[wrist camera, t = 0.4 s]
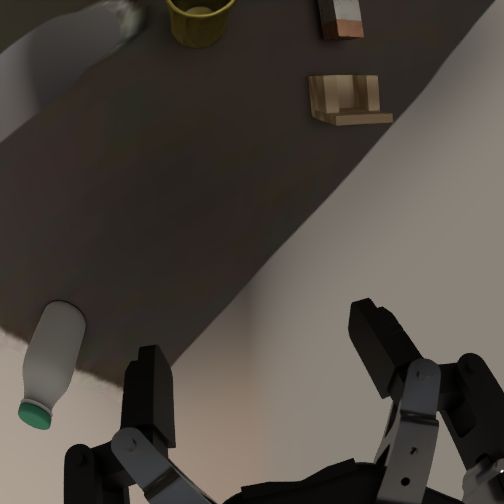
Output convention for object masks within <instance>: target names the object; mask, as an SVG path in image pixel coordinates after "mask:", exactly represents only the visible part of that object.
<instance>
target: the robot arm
mask: <svg viewBox="0 0 504 504" xmlns="http://www.w3.org/2000/svg"><path fill="white" fill-rule="evenodd" d="M348 331H349V336H350V339H351V341H352V343H353V345H354V347H355V348H356V350H357V352H358V354H359V356H360V358H361V359H362V362H363V363H364V365H365V367H366V369H367V371H368V373H369V375H370V376H371V378H372V380H373V383H374V384H375V386H376V388H377V390H378V392H379V394H380V396H381V398H382V399H384V398H386V397H389V396H390V397H391V398H392V400H393V402H392V405H391V409H390V413H389V417H388V421H387V425H386V428H385V432H384V435H383V438H382V442H381V444H380V447H379V449H378V451H377V453H376V456H375V459H374V462H373V463H367V462H357V463H355V460H354V458H352V459H349V460H346V461H343V462H340V463H337V464H334V465H331V466H328V467H326V468H324V469H322V470H320V471H319V472H317V473H315V474H313V475H311V476H310V477H308V478H306V479H304V480H302V481H296V482H265V483H260V484H255V485H249V486H243V487H241V491H242V492H240V493H238V494H235V495H234V496H232V497H230V498H229V499H227V500H226V501H225V502H224V503H223V504H504V392H503V390H502V389H501V387H500V385H499V384H498V382H497V380H496V379H495V377H494V376H493V374H492V372H491V371H490V369H489V368H488V366H487V365H486V363H485V362H484V360H483V359H482V358H481V357H480V356H478V355H477V354H474V353H467V354H464V355H462V356H461V357H460V359H459V360H458V362H457V363H449V364H440V365H438V364H436V363H435V362H434V361H432V360H430V359H425V358H423V357H422V356H421V354H420V353H419V351H418V350H417V348H416V347H415V345H414V344H413V342H412V341H411V339H410V338H409V336H408V335H407V334H406V332H405V331H404V330H403V328H402V326H401V325H400V324H399V323H398V321H397V319H396V318H395V316H394V315H393V314H392V313H391V312H390V311H388V310H387V309H385V308H384V307H379V308H377V307H376V306H375V305H374V303H373V301H371V299H369V298H366V299H362V300H359V301H355V302H352V304H351V309H350V317H349V325H348ZM124 384H125V385H124V388H123V392H124V394H123V400H122V413H121V426H120V430H119V431H118V432H117V433H116V434H115V435H114V436H113V438H112V440H111V441H110V442H107V443H105V444H102V445H99V446H96V447H93V448H89V447H88V446H86V445H84V444H76V445H73V446H72V447H70V448H69V449H68V451H67V452H66V455H65V461H64V504H130V498H129V488H128V486H131V485H134V484H138V485H139V487H140V488H141V489H142V490H143V492H144V496H145V498H146V499H147V501H148V502H149V503H150V504H217V503H216V502H215V501H214V500H213V499H212V498H210V497H209V496H208V495H207V494H206V493H205V492H203V491H202V490H201V489H200V488H199V487H198V486H196V485H195V484H194V483H193V482H192V481H191V480H190V479H189V478H188V477H187V476H186V475H185V474H184V473H183V472H182V471H181V470H180V469H179V468H178V467H177V466H176V465H175V464H174V463H173V462H172V461H171V460H170V459H169V458H168V448H175V447H176V442H175V425H174V401H173V376H172V371H171V368H170V366H169V364H168V362H167V360H166V358H165V356H164V354H163V353H162V351H161V349H160V347H159V345H150V346H144V347H140V348H139V354H138V360H137V361H131V362H130V364H129V366H128V368H127V369H126V371H125V378H124ZM437 411H439V412H440V414H441V415H442V418H443V420H444V422H445V424H446V426H447V428H448V430H449V432H450V435H451V436H452V439H453V441H454V443H455V445H456V447H457V450H458V452H459V454H460V456H461V459H462V461H463V464H464V466H465V468H466V470H467V472H466V474H465V475H464V478H463V485H462V488H463V490H464V496H463V499H462V501H460V500H458V499H455V498H452V497H450V496H447V495H445V494H442V493H440V492H438V491H435V490H433V489H431V488H428V487H426V485H427V480H428V476H429V473H430V469H431V465H432V460H433V455H434V451H435V446H436V441H437V435H438V430H439V421H438V420H436V412H437Z"/></svg>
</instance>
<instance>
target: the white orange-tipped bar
mask: <svg viewBox="0 0 504 504" xmlns="http://www.w3.org/2000/svg"><path fill="white" fill-rule="evenodd" d="M318 5H319V11H320V17H321V24H322V30H323V37H324V40H352V39H357V38H363V37H364V35H363V28H362V21H361V15H360V9H359V3H358V0H318Z"/></svg>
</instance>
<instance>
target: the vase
mask: <svg viewBox="0 0 504 504" xmlns="http://www.w3.org/2000/svg"><path fill="white" fill-rule="evenodd" d="M236 2H237V0H166V4H167V7H168V9H169V13H170V18H171V31H172V34H173V36H174V37H175V39H176V40H177V41H178V42H179V43H181V44H182V45H185V46H187V47H191V48H202V47H207V46H210V45H212V44H213V43H215V42H216V41H218V40H219V39H220V38H221V37H222V35H223V34H224V32H225V30H226V26H227V21H228V18H229V15H230V13H231V11H232V9H233V7H234V6H235V4H236Z"/></svg>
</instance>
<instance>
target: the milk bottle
mask: <svg viewBox="0 0 504 504" xmlns="http://www.w3.org/2000/svg"><path fill="white" fill-rule="evenodd" d="M85 328H86V323H85V319H84V317H83V315H82V313H81V312H80V311H79V310H78V309H77V308H76V307H74V306H73V305H71V304H69V303H67V302H63V301H54V302H52V303H50V304H48V305H47V306H46V308H45V310H44V312H43V314H42V316H41V318H40V320H39V323H38V325H37V327H36V329H35V332H34V334H33V337H32V339H31V342H30V344H29V347H28V349H27V352H26V355H25V358H24V363H23V380H24V399H22V400H21V404H20V407H19V411H18V415H19V417H20V418H21V419H22V420H23V421H24V422H25V423H27V424H28V425H30V426H32V427H34V428H38V429H42V430H46V429H49V427H50V424H51V417H52V412H51V411H52V408H53V406H54V405H55V403H56V402H57V401H58V400H59V399H60V397H61V396H62V395H63V394H64V393H65V392H66V390H67V388H68V386H69V384H70V382H71V378H72V375H73V372H74V368H75V364H76V360H77V357H78V353H79V349H80V346H81V342H82V339H83V335H84V332H85Z"/></svg>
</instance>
